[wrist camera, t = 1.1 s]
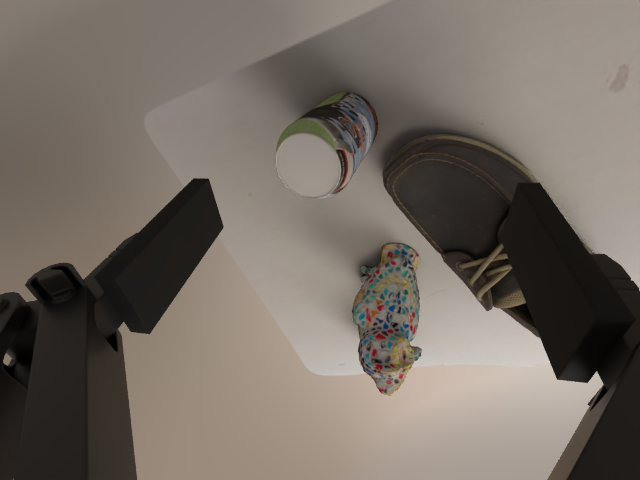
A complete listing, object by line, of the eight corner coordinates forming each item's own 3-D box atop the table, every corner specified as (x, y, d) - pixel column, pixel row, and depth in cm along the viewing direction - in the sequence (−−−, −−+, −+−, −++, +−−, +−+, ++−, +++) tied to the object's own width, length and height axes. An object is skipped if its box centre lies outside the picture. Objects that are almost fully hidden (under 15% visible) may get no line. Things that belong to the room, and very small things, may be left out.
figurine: (441, 278, 43) (456, 391, 31) (384, 303, 47) (379, 409, 36) (401, 235, 40) (403, 342, 28) (345, 266, 44) (326, 368, 33)
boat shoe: (437, 92, 29) (452, 138, 21) (640, 259, 36) (712, 344, 28) (362, 179, 36) (351, 240, 28) (545, 307, 42) (580, 387, 34)
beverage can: (368, 157, 34) (357, 224, 25) (299, 139, 34) (263, 199, 25) (387, 95, 30) (383, 148, 21) (310, 75, 30) (271, 118, 21)
